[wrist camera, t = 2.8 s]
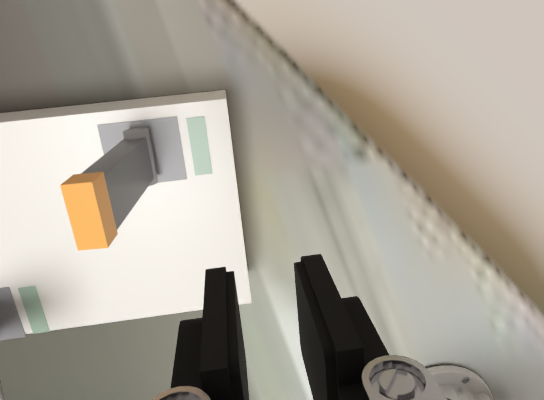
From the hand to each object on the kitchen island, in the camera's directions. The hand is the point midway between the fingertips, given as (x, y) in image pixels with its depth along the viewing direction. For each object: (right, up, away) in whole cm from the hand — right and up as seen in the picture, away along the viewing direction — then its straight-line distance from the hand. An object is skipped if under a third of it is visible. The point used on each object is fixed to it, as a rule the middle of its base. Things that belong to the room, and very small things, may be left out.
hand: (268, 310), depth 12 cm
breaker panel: (-15, +3, +24) cm, 29 cm away
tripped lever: (-8, +6, +17) cm, 20 cm away
